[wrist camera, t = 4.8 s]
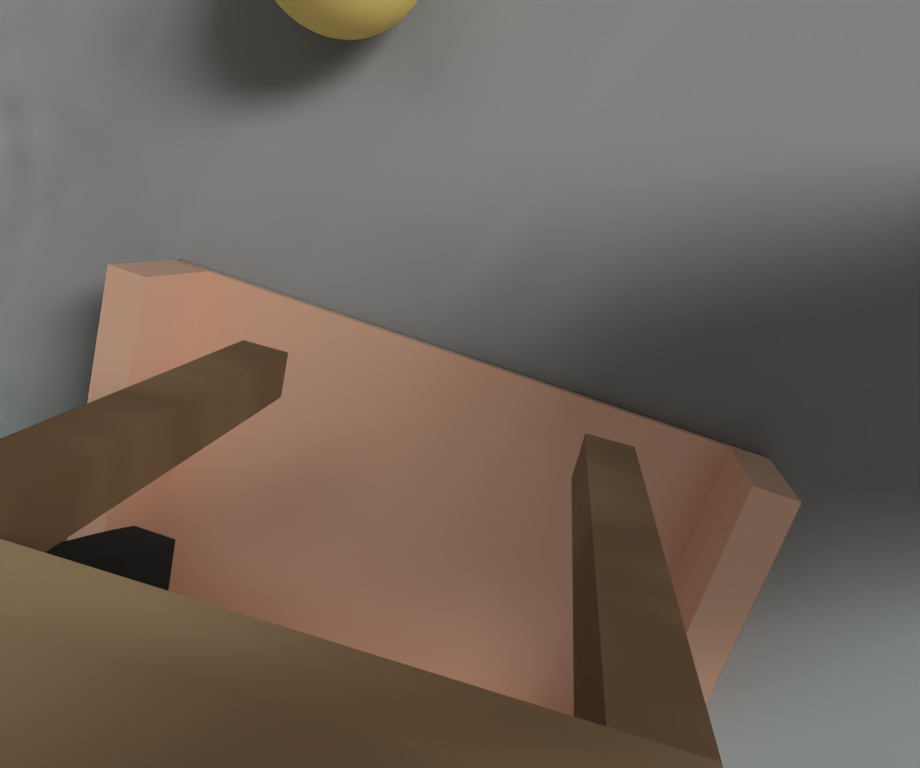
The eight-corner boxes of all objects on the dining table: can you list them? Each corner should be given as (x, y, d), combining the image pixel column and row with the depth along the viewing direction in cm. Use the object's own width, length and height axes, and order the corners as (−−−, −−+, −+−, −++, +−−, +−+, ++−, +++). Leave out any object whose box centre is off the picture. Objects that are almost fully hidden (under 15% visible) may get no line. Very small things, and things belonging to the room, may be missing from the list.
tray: (769, 458, 16) (802, 502, 14) (613, 804, 19) (615, 896, 17) (180, 259, 18) (107, 263, 16) (119, 600, 21) (50, 653, 19)
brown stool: (634, 446, 9) (746, 851, 3) (527, 771, 11) (480, 1427, 5) (243, 340, 10) (-241, 537, 4) (195, 665, 12) (-200, 1150, 6)
